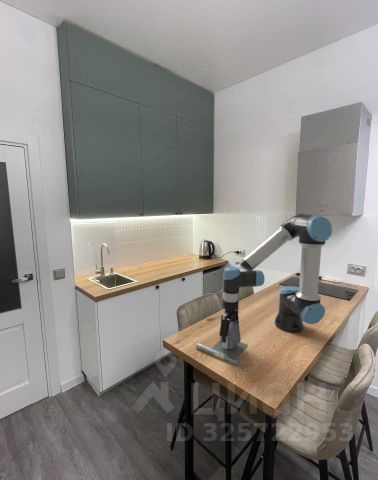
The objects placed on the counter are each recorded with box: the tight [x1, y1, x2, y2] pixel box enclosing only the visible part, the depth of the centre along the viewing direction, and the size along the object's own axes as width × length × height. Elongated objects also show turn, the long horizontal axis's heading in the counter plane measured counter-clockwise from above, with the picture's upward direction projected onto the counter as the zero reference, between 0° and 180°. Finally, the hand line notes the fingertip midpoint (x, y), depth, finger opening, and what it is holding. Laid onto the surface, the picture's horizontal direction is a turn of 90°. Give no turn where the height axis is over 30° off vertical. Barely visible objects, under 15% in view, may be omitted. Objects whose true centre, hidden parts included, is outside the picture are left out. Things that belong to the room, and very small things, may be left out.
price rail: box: [195, 342, 240, 367], centre depth 116 cm, size 22×2×2 cm, turn 54°
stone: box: [219, 320, 242, 349], centre depth 121 cm, size 12×10×10 cm
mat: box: [210, 340, 248, 359], centre depth 122 cm, size 13×15×1 cm
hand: (229, 343), depth 121 cm, fingers closed on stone, 9 cm apart
